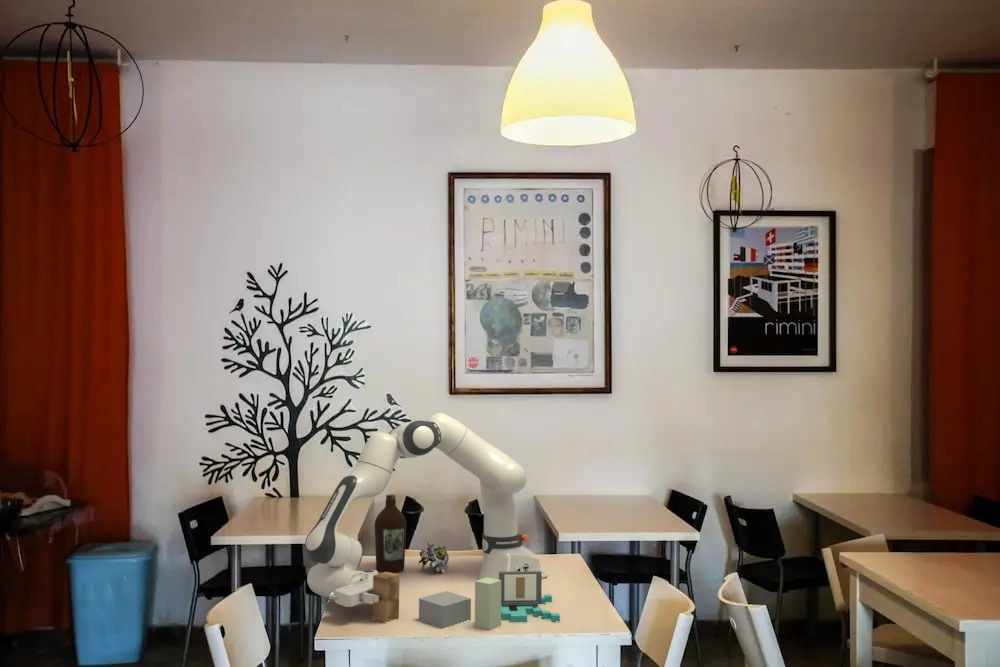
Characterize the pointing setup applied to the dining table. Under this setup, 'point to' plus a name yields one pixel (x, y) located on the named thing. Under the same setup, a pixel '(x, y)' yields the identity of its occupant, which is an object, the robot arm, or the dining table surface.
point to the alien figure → (528, 611)
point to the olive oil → (390, 538)
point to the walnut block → (386, 596)
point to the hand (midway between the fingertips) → (388, 595)
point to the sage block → (487, 603)
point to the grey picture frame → (520, 588)
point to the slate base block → (445, 609)
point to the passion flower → (435, 557)
